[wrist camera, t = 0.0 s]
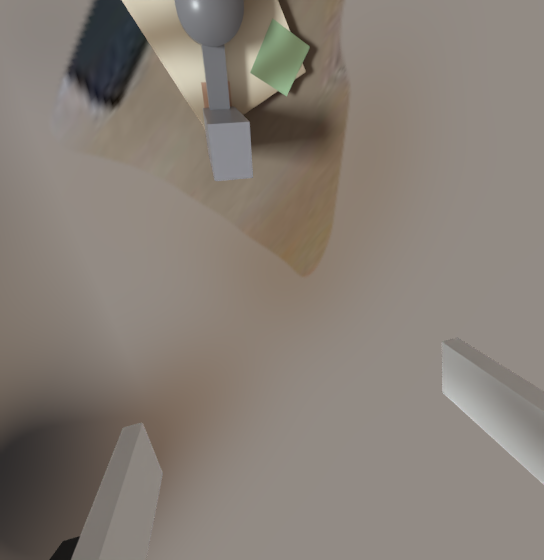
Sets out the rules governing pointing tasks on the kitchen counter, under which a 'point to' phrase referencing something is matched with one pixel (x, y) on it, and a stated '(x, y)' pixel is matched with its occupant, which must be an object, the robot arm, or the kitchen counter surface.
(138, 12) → the board
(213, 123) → the grey block with ball
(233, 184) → the kitchen counter surface
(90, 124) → the kitchen counter surface
